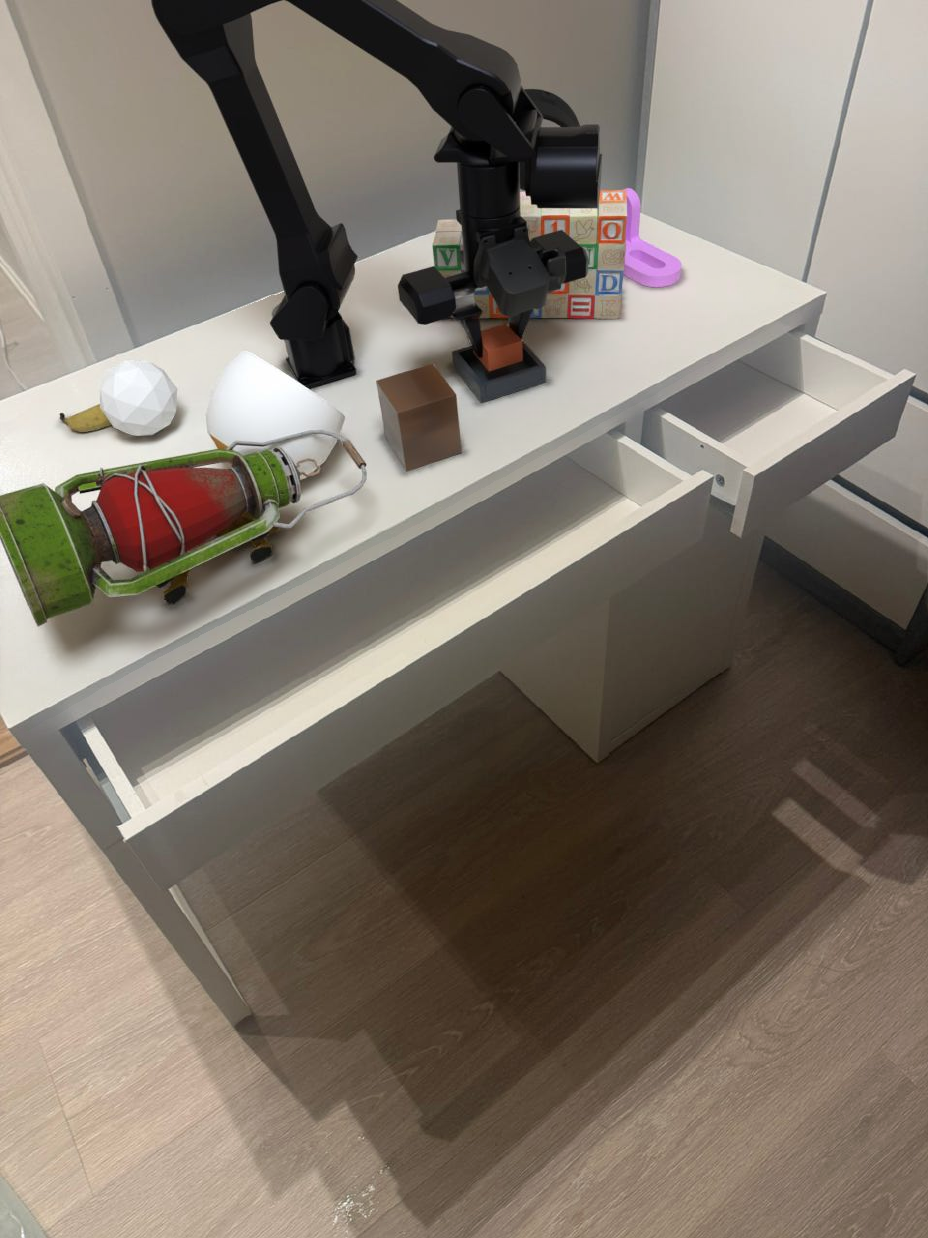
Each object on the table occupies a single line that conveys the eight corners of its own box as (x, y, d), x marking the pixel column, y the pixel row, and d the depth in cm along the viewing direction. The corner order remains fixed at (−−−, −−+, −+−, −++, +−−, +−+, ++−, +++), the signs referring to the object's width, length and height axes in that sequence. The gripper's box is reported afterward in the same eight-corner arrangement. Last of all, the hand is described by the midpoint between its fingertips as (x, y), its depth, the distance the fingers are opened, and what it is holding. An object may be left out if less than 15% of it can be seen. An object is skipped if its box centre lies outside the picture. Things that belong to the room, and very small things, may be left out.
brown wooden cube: (406, 471, 91) (397, 413, 86) (385, 438, 95) (375, 380, 89) (461, 452, 92) (456, 394, 87) (439, 420, 96) (432, 362, 91)
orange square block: (489, 371, 97) (487, 351, 95) (473, 353, 100) (472, 332, 98) (522, 360, 98) (522, 340, 96) (506, 342, 101) (506, 322, 99)
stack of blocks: (438, 320, 109) (428, 217, 99) (444, 292, 113) (435, 191, 104) (621, 318, 106) (628, 213, 97) (620, 290, 110) (627, 187, 101)
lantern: (-36, 453, 69) (323, 357, 82) (2, 545, 78) (322, 446, 90) (21, 583, 63) (400, 459, 75) (55, 668, 72) (391, 544, 84)
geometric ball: (167, 435, 102) (184, 365, 99) (167, 454, 95) (186, 379, 92) (94, 415, 99) (111, 342, 96) (89, 433, 92) (106, 355, 89)
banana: (155, 416, 99) (154, 400, 102) (147, 396, 98) (146, 380, 101) (63, 442, 98) (65, 425, 101) (53, 423, 97) (55, 406, 100)
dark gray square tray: (481, 403, 97) (480, 387, 96) (452, 366, 102) (451, 351, 101) (546, 382, 99) (546, 366, 98) (515, 347, 104) (514, 331, 102)
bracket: (584, 252, 117) (586, 197, 112) (617, 238, 119) (621, 183, 114) (655, 292, 109) (660, 235, 104) (689, 275, 111) (696, 219, 106)
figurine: (294, 550, 85) (235, 464, 92) (279, 507, 80) (217, 419, 87) (144, 627, 81) (93, 532, 88) (118, 587, 76) (66, 489, 83)
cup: (159, 420, 84) (214, 329, 83) (225, 455, 96) (274, 375, 95) (261, 488, 81) (319, 393, 80) (317, 514, 92) (367, 432, 92)
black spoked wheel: (462, 220, 119) (460, 183, 126) (566, 248, 123) (559, 211, 129) (497, 107, 109) (493, 73, 115) (610, 142, 112) (599, 107, 119)
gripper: (431, 268, 80) (446, 416, 91) (620, 214, 84) (611, 362, 95) (386, 216, 87) (406, 360, 98) (563, 169, 91) (561, 313, 102)
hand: (497, 350), depth 98 cm, fingers closed on orange square block, 4 cm apart
